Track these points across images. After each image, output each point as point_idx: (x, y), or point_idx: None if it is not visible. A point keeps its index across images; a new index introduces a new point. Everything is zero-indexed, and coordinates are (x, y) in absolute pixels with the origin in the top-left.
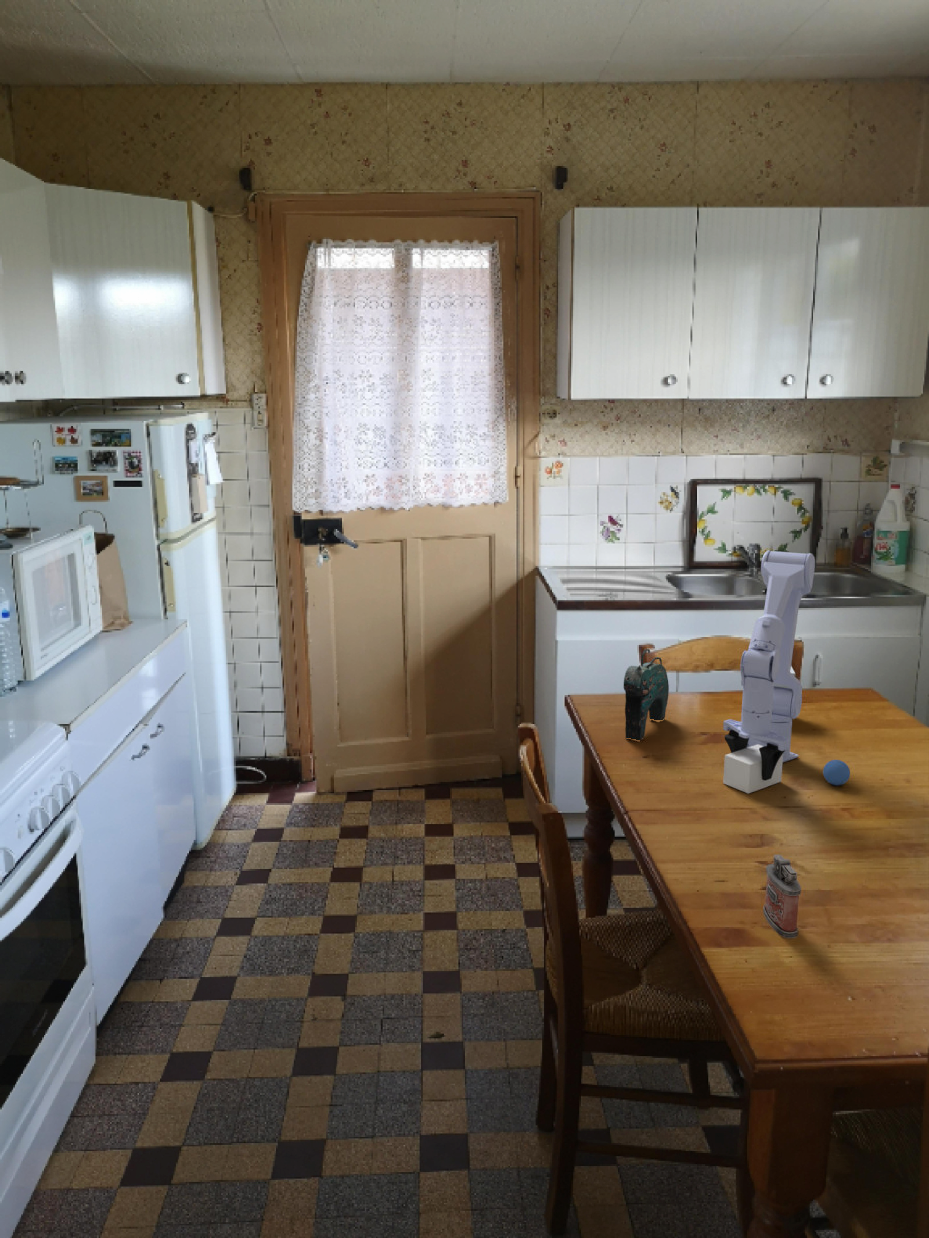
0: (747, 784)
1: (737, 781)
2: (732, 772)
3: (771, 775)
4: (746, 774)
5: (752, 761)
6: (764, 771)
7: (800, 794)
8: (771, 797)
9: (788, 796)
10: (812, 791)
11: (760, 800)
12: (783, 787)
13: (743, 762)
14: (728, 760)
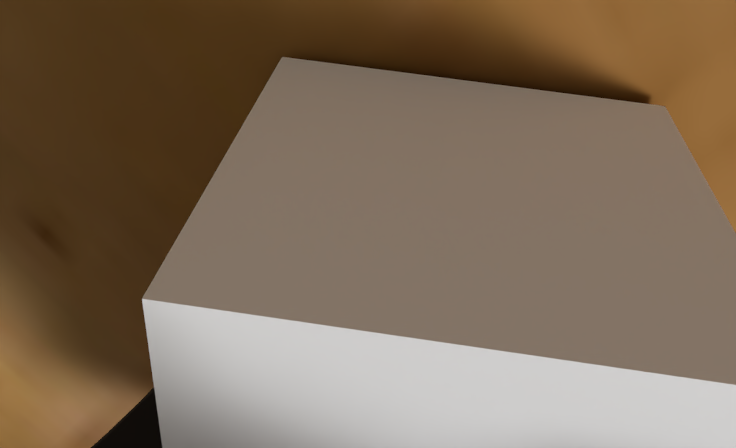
0: (277, 107)
1: (447, 122)
2: (550, 186)
3: None
4: (269, 180)
5: (231, 429)
6: None
7: (34, 349)
8: (97, 155)
9: (44, 268)
10: (40, 429)
11: (93, 9)
12: None
13: (310, 318)
14: (689, 316)
